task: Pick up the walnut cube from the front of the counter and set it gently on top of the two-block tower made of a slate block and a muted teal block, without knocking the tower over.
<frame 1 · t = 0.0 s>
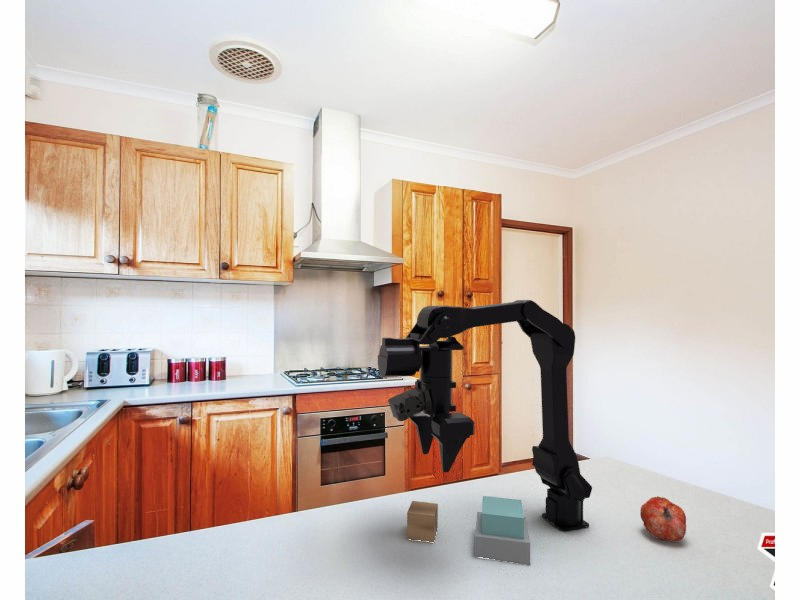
hand: (435, 462, 76), 15 cm above the countertop, tool pointing down, fingers open, 9 cm apart
slate block: (501, 548, 75), on the countertop
teal block: (502, 526, 75), point 4 cm above the countertop
pomegranate: (662, 537, 79), on the countertop
walnut cube: (422, 535, 79), on the countertop
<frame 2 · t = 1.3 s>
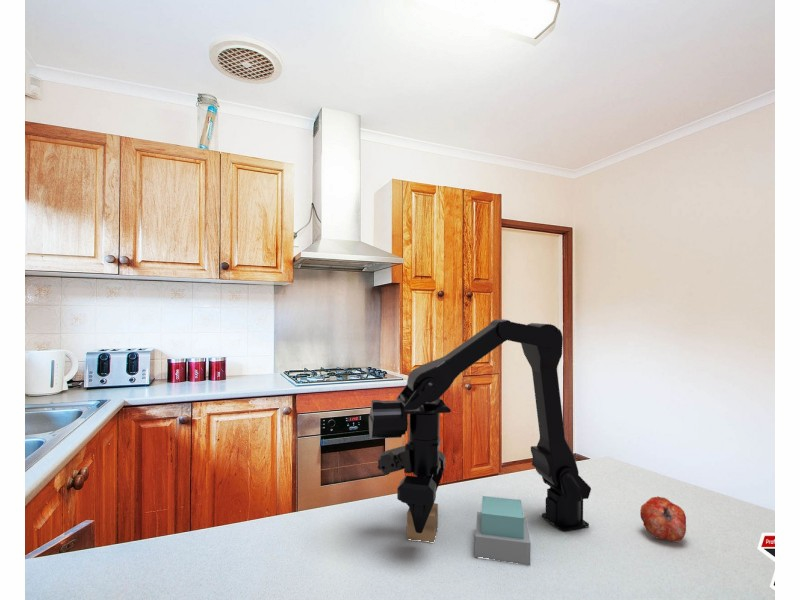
hand: (423, 519, 79), 3 cm above the countertop, tool pointing down, fingers open, 9 cm apart
slate block: (501, 549, 75), on the countertop, touching teal block
teal block: (501, 526, 75), point 4 cm above the countertop, touching slate block
everything else where it was.
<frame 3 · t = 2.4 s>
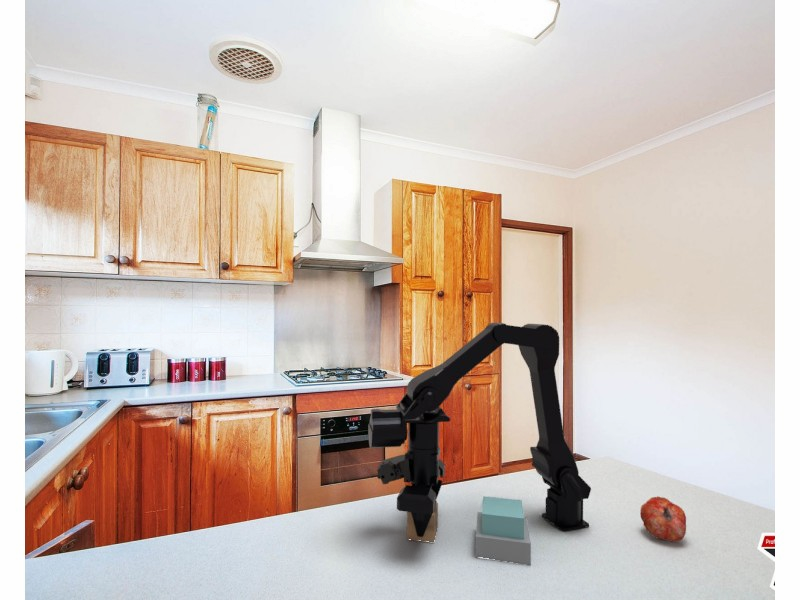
hand: (422, 528, 79), 1 cm above the countertop, tool pointing down, fingers closed on walnut cube, 5 cm apart
walnut cube: (422, 534, 79), on the countertop, touching gripper
everything else where it was.
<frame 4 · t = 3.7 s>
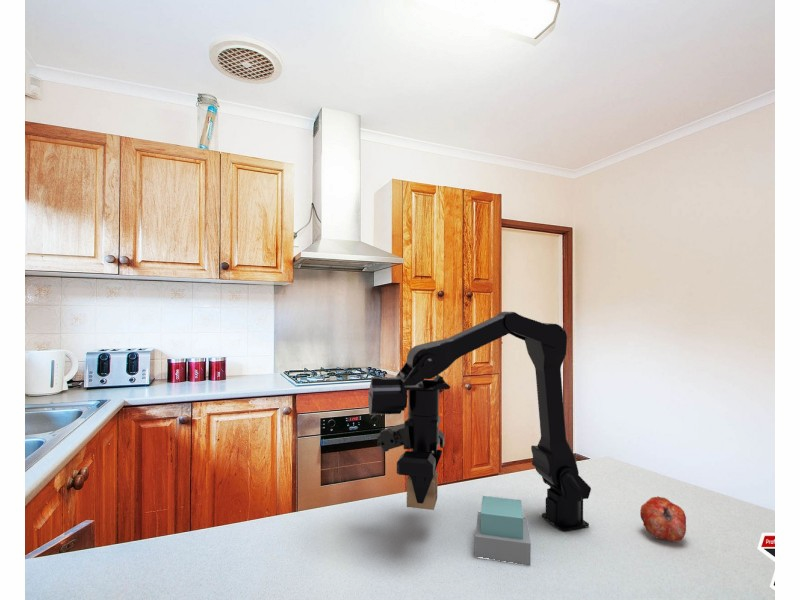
hand: (422, 496, 79), 7 cm above the countertop, tool pointing down, fingers closed on walnut cube, 5 cm apart
slate block: (502, 549, 75), on the countertop
teal block: (501, 526, 75), point 4 cm above the countertop
walnut cube: (422, 502, 79), point 6 cm above the countertop, touching gripper
everything else where it was.
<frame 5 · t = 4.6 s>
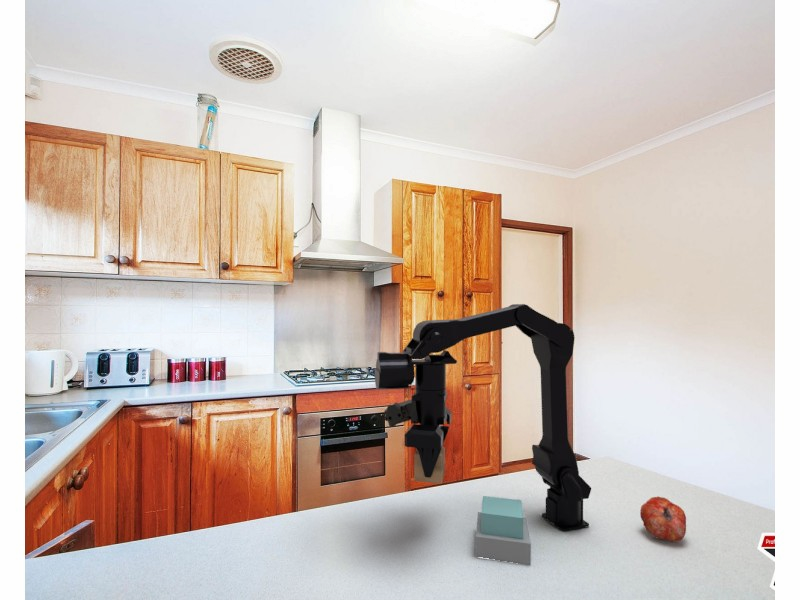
hand: (430, 471, 79), 12 cm above the countertop, tool pointing down, fingers closed on walnut cube, 5 cm apart
slate block: (502, 549, 75), on the countertop, touching teal block
teal block: (501, 526, 75), point 4 cm above the countertop, touching slate block
walnut cube: (429, 477, 79), point 11 cm above the countertop, touching gripper
everything else where it was.
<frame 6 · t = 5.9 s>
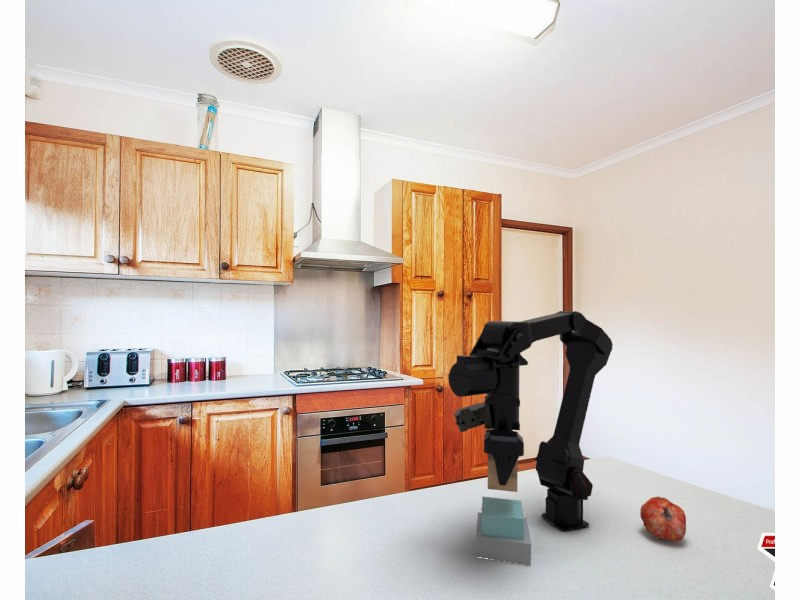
hand: (502, 478, 75), 12 cm above the countertop, tool pointing down, fingers closed on walnut cube, 5 cm apart
walnut cube: (502, 484, 75), point 11 cm above the countertop, touching gripper
everything else where it was.
when the fingers open (8 cm above the countertop, at t = 8.5 s): walnut cube stays where it is, point 7 cm above the countertop.
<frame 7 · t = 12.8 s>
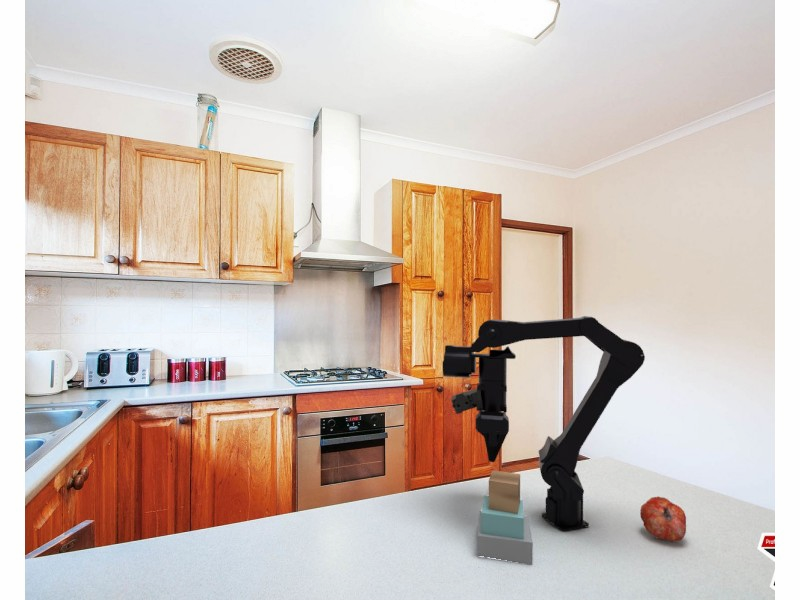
hand: (491, 453, 88), 12 cm above the countertop, tool pointing down, fingers open, 9 cm apart
walnut cube: (504, 505, 76), point 7 cm above the countertop
everything else where it was.
at the end: walnut cube 0.4 cm off-centre on the slate block, point 7.5 cm above the slate block's base; teal block 0.3 cm off-centre on the slate block, point 4.0 cm above the slate block's base; the gripper is holding nothing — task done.
